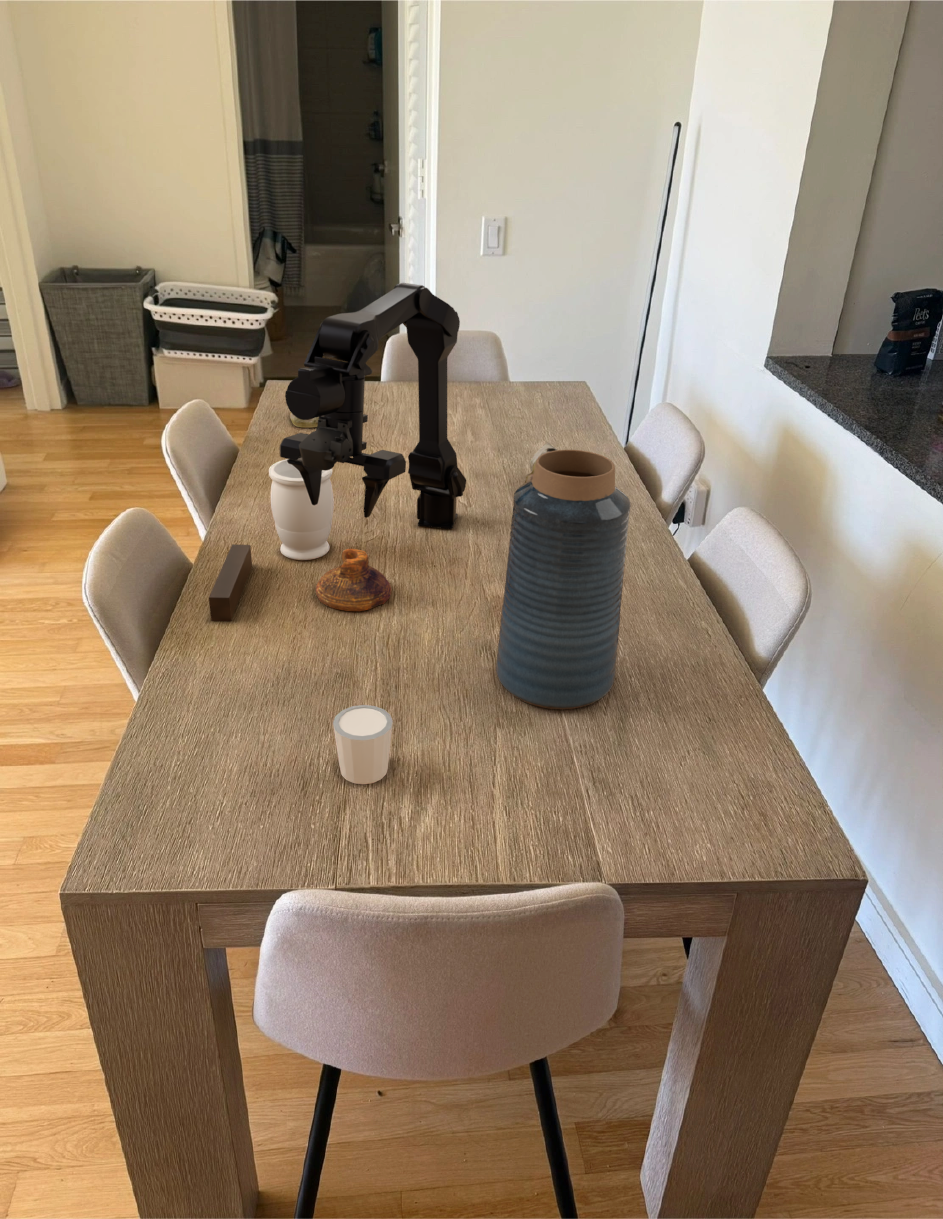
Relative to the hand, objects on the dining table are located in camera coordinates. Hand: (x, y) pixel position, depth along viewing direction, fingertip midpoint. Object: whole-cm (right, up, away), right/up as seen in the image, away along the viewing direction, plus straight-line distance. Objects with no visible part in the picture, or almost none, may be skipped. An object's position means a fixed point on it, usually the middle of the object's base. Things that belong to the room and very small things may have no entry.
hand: (340, 510), depth 144 cm
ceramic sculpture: (+35, +9, +47) cm, 60 cm away
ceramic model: (-17, +30, +80) cm, 87 cm away
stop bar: (-18, -12, +5) cm, 22 cm away
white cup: (+7, -34, -31) cm, 47 cm away
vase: (+31, -25, -13) cm, 42 cm away
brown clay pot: (+1, -13, +6) cm, 14 cm away
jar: (-9, -5, +19) cm, 21 cm away
